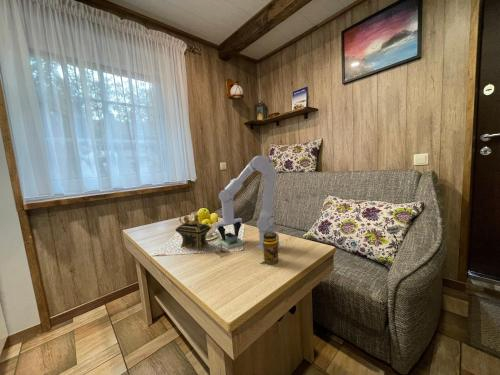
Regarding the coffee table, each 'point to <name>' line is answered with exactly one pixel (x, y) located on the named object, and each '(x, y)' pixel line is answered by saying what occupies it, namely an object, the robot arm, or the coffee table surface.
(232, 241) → the grey open box
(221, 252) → the tan rectangular block
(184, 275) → the coffee table surface
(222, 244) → the tray
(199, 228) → the decorative box
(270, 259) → the condiment
